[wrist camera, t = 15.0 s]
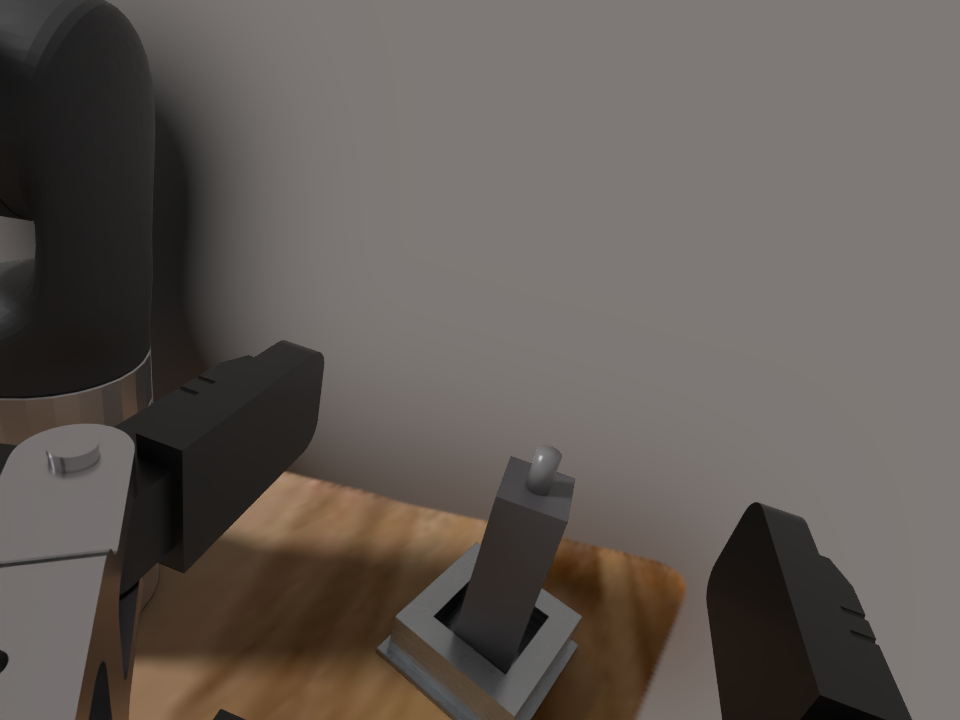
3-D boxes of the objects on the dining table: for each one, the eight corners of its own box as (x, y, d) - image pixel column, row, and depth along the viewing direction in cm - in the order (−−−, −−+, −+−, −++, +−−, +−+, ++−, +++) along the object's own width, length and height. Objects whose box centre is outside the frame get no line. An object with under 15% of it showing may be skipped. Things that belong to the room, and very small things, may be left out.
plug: (444, 661, 37) (506, 461, 29) (461, 612, 40) (521, 423, 33) (503, 684, 36) (581, 487, 29) (515, 633, 40) (587, 445, 32)
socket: (375, 651, 37) (383, 616, 35) (465, 566, 45) (474, 535, 43) (502, 764, 32) (517, 729, 31) (576, 648, 40) (591, 616, 39)
